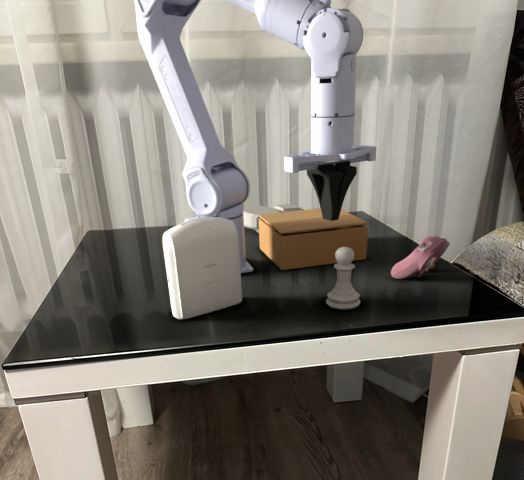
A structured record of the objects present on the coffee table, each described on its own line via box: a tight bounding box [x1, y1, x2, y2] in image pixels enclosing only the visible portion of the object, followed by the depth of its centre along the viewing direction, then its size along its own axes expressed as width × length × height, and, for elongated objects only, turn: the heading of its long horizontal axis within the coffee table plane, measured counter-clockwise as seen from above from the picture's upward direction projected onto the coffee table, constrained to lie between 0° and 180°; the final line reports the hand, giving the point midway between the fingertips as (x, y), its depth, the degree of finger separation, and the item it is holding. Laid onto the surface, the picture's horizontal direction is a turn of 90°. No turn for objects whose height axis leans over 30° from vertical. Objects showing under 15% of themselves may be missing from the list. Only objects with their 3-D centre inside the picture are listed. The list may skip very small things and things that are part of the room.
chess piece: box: [325, 247, 361, 311], centre depth 72 cm, size 5×5×8 cm
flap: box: [259, 208, 350, 224], centre depth 95 cm, size 15×6×1 cm, turn 106°
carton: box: [258, 213, 369, 271], centre depth 93 cm, size 15×13×6 cm
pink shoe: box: [390, 234, 451, 280], centre depth 83 cm, size 10×5×7 cm, turn 143°
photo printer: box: [162, 217, 243, 320], centre depth 71 cm, size 10×4×12 cm, turn 123°
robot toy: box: [243, 203, 305, 234], centre depth 110 cm, size 12×4×15 cm
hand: (330, 219), depth 77 cm, fingers closed
